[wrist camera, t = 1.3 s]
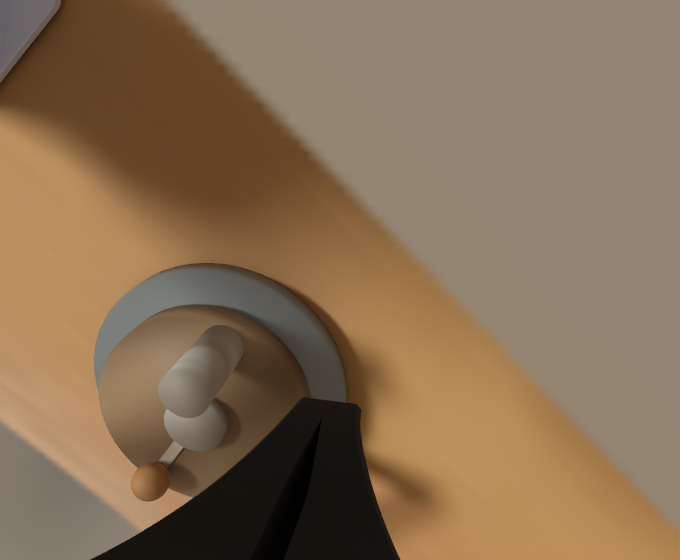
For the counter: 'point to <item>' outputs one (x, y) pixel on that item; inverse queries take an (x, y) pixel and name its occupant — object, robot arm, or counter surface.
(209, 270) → the disc
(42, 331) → the counter surface
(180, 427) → the capstan disc
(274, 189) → the counter surface
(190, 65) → the counter surface
